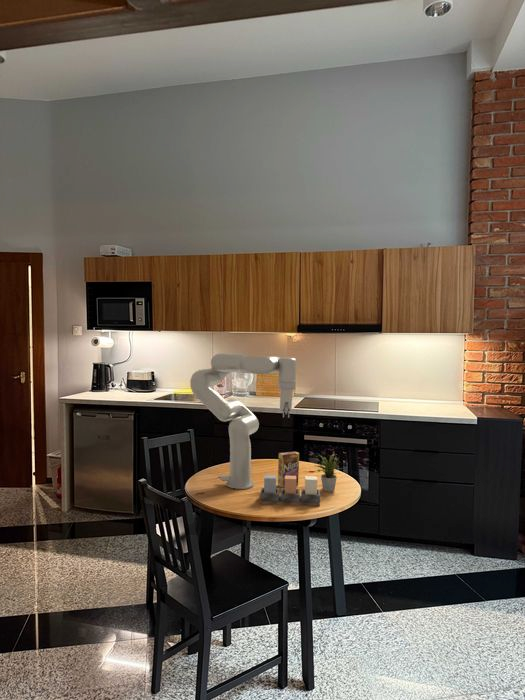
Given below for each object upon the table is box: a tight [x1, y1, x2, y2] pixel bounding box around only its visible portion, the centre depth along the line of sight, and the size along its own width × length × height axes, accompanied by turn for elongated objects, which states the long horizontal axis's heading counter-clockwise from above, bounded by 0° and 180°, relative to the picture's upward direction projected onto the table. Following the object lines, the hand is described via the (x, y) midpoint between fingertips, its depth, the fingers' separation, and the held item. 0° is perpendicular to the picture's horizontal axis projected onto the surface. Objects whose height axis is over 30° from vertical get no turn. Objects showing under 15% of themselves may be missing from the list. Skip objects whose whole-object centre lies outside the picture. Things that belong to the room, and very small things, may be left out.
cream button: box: [304, 475, 318, 495], centre depth 209 cm, size 5×5×7 cm
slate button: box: [263, 474, 277, 493], centre depth 210 cm, size 5×5×7 cm
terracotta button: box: [284, 475, 297, 494], centre depth 209 cm, size 5×5×7 cm
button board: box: [259, 487, 321, 507], centre depth 209 cm, size 25×10×4 cm, turn 87°
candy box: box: [277, 451, 300, 488], centre depth 230 cm, size 9×4×15 cm, turn 115°
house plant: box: [313, 453, 343, 493], centre depth 226 cm, size 14×14×16 cm
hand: (285, 424), depth 220 cm, fingers open, 9 cm apart
